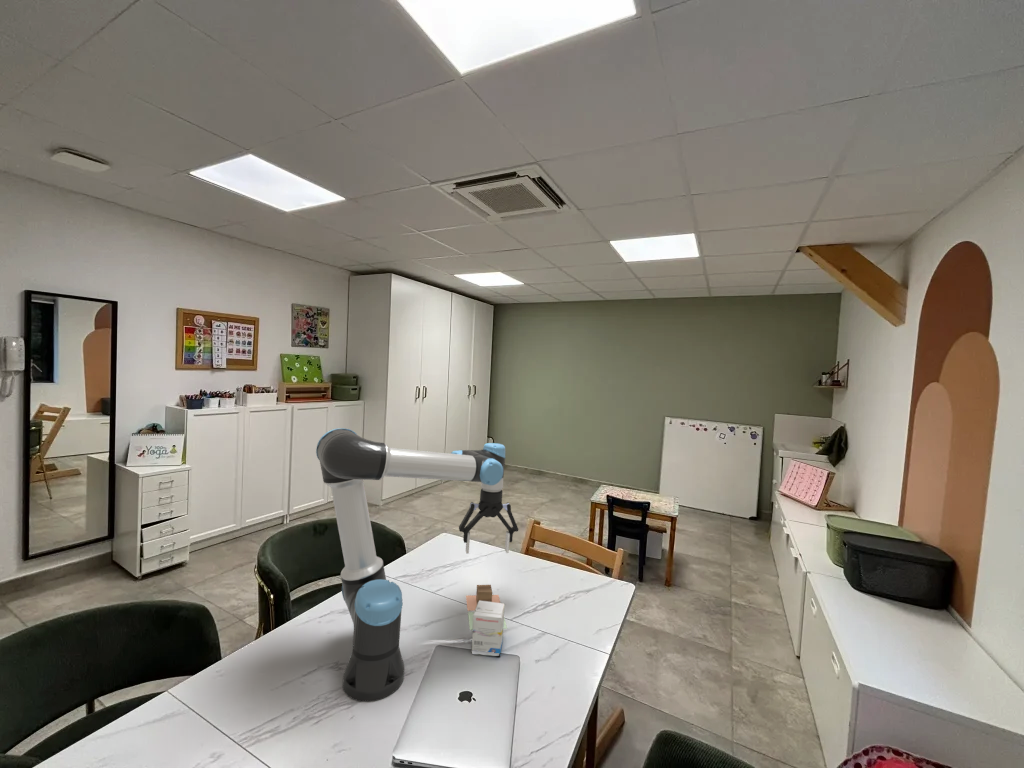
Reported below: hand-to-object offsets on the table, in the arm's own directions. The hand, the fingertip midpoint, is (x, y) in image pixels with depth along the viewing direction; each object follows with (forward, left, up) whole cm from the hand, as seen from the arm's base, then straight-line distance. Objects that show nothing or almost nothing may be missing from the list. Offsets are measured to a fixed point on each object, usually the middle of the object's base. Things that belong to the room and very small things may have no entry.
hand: (487, 551), depth 138 cm
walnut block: (+6, -1, -21) cm, 22 cm away
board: (+1, -1, -22) cm, 22 cm away
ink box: (-16, 0, -22) cm, 27 cm away
